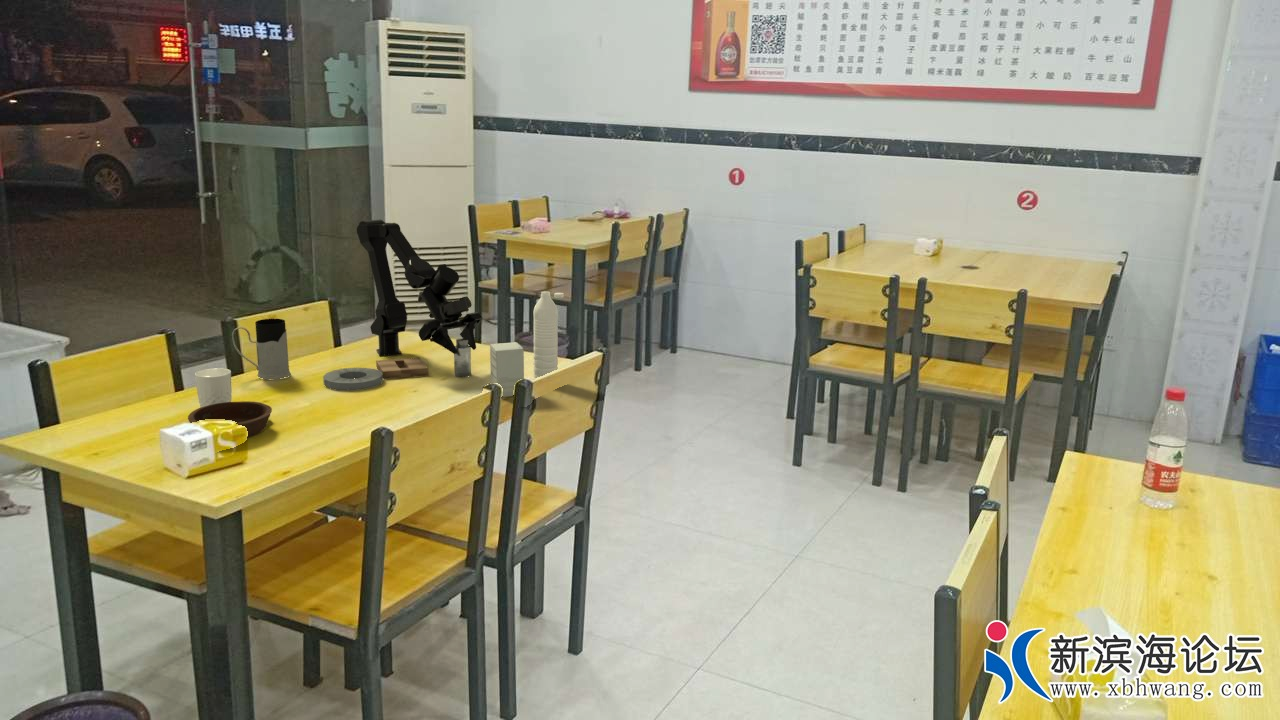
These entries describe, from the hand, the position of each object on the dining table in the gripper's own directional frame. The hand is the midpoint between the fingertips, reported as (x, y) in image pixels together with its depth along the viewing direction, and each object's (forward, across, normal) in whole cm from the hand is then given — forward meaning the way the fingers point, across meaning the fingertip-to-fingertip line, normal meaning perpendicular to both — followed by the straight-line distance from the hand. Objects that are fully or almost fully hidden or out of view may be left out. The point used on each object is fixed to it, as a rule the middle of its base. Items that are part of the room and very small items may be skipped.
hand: (465, 351), depth 278 cm
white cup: (-7, -62, +18) cm, 65 cm away
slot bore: (-6, -9, +16) cm, 20 cm away
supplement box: (+19, -3, -9) cm, 21 cm away
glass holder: (-22, -38, +32) cm, 55 cm away
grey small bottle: (+4, 0, +6) cm, 7 cm away
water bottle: (+20, +11, -10) cm, 25 cm away
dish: (+4, -67, +7) cm, 68 cm away
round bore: (-7, -25, +17) cm, 31 cm away
